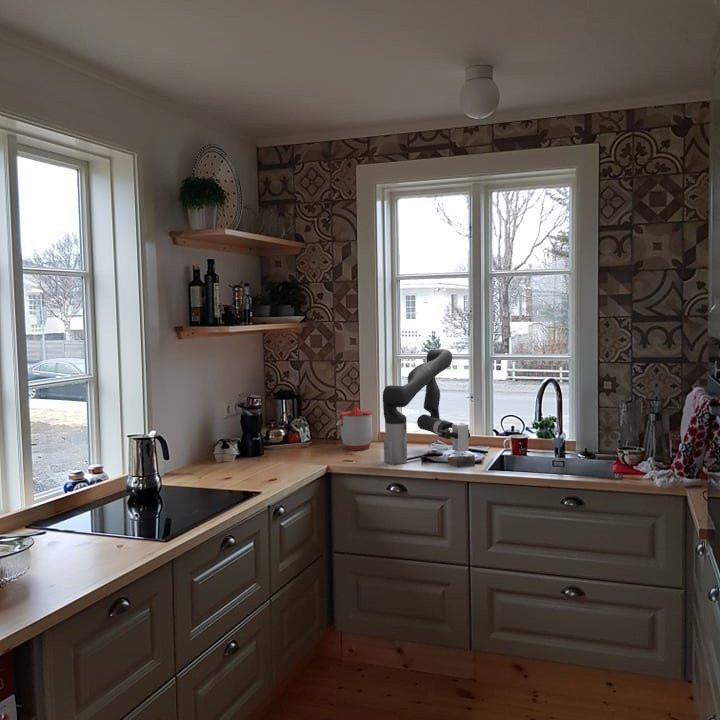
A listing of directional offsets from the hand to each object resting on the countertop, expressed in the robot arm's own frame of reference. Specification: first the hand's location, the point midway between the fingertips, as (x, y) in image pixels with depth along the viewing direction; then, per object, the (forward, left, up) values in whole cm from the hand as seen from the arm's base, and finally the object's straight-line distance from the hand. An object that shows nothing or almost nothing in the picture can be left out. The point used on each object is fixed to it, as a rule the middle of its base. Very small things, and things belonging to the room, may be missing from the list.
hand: (463, 435), depth 302 cm
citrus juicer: (-29, +54, -13) cm, 62 cm away
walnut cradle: (0, +2, -12) cm, 13 cm away
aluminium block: (0, +3, -6) cm, 7 cm away
